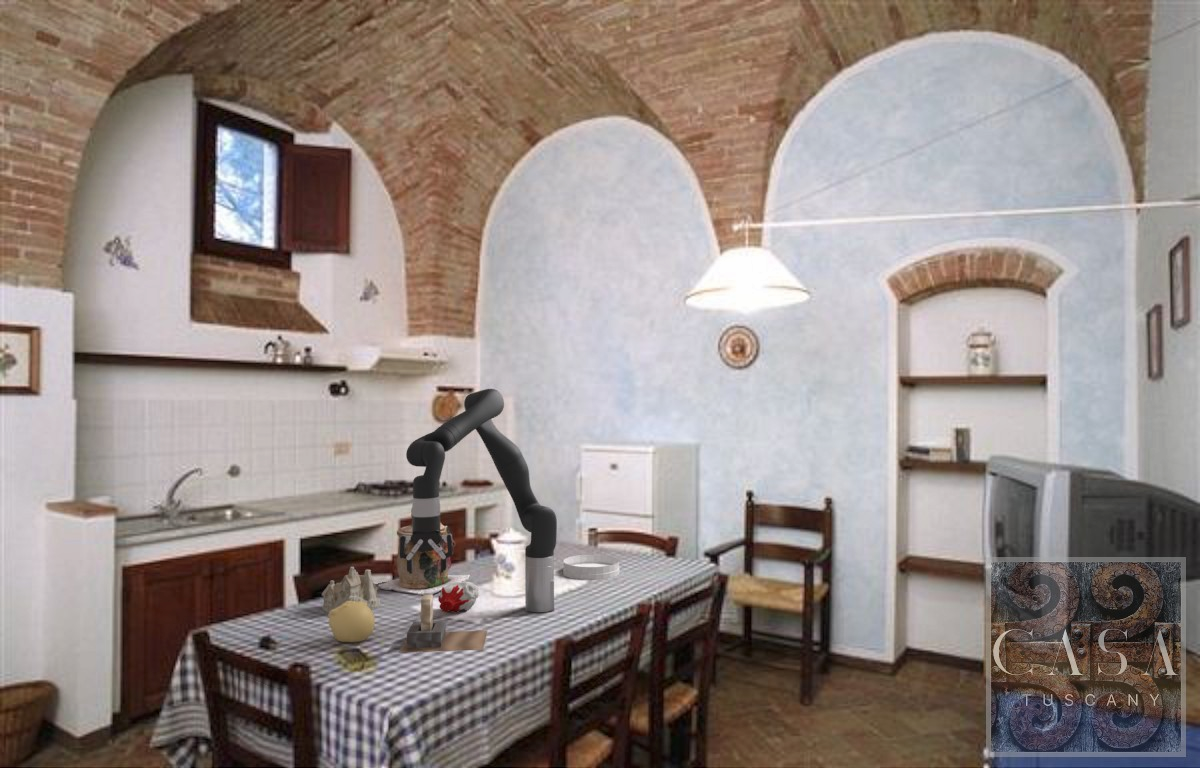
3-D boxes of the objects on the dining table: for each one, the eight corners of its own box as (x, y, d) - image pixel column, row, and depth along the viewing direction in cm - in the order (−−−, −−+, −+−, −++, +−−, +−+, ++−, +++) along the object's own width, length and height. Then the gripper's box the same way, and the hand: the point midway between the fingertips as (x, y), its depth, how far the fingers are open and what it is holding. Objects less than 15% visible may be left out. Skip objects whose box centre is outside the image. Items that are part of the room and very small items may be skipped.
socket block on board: (487, 635, 212) (487, 616, 212) (483, 655, 196) (483, 634, 196) (409, 638, 211) (409, 618, 211) (399, 658, 195) (399, 637, 195)
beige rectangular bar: (432, 637, 206) (432, 594, 207) (430, 643, 201) (430, 599, 202) (423, 637, 206) (423, 594, 206) (421, 643, 201) (420, 599, 201)
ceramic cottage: (387, 606, 243) (384, 560, 243) (341, 619, 230) (338, 571, 231) (361, 600, 253) (358, 556, 253) (316, 613, 240) (313, 567, 241)
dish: (554, 570, 293) (554, 557, 293) (604, 564, 302) (604, 552, 302) (576, 583, 273) (576, 569, 273) (629, 576, 282) (629, 563, 282)
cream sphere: (358, 630, 218) (358, 593, 218) (382, 638, 210) (382, 600, 210) (322, 640, 209) (322, 602, 209) (346, 649, 201) (346, 609, 202)
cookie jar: (375, 590, 264) (375, 500, 264) (418, 574, 286) (418, 492, 287) (432, 597, 254) (431, 504, 255) (472, 580, 277) (471, 495, 277)
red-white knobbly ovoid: (480, 603, 243) (463, 623, 229) (448, 601, 246) (429, 620, 231) (479, 577, 242) (462, 595, 228) (447, 575, 245) (428, 593, 230)
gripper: (454, 510, 208) (454, 568, 208) (402, 512, 207) (403, 570, 206) (450, 515, 200) (451, 575, 200) (397, 516, 199) (397, 576, 199)
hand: (426, 572), depth 203 cm, fingers open, 8 cm apart
